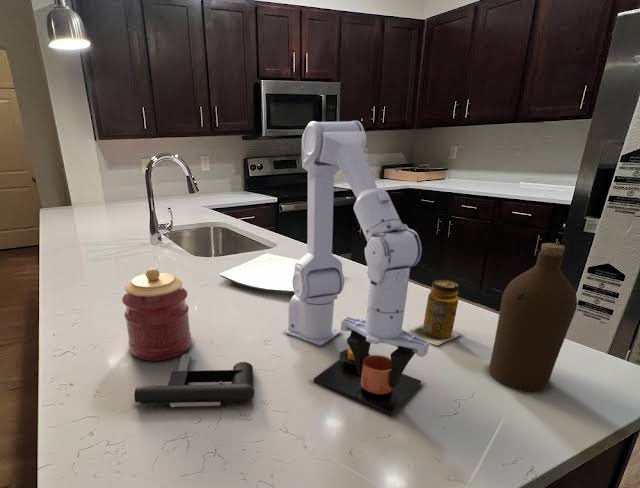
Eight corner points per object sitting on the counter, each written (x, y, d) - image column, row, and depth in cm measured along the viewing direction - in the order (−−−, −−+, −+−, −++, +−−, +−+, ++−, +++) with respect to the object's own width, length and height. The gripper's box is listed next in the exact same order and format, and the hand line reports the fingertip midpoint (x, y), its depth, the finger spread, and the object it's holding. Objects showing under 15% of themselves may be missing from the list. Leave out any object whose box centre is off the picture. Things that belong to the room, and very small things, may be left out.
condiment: (460, 335, 92) (470, 284, 88) (436, 346, 88) (446, 293, 83) (431, 323, 98) (439, 275, 93) (407, 333, 94) (415, 283, 89)
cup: (355, 386, 72) (357, 363, 71) (369, 373, 76) (372, 351, 74) (384, 398, 69) (387, 375, 67) (398, 384, 73) (401, 361, 71)
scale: (313, 382, 76) (314, 370, 75) (348, 356, 85) (349, 345, 84) (391, 417, 67) (392, 404, 66) (421, 383, 76) (423, 371, 75)
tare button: (344, 358, 80) (344, 351, 79) (352, 352, 82) (352, 345, 81) (358, 363, 78) (359, 356, 78) (366, 357, 80) (366, 350, 80)
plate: (213, 283, 125) (212, 274, 124) (265, 259, 147) (265, 251, 146) (295, 303, 110) (296, 293, 109) (341, 273, 132) (341, 265, 131)
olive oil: (550, 401, 70) (595, 258, 60) (480, 381, 76) (512, 247, 66) (552, 372, 78) (593, 242, 68) (489, 356, 84) (519, 234, 74)
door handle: (152, 351, 83) (131, 395, 68) (253, 349, 83) (254, 393, 68) (154, 366, 84) (133, 413, 69) (253, 364, 84) (254, 410, 69)
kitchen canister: (156, 328, 98) (147, 255, 91) (203, 339, 92) (197, 263, 85) (116, 354, 87) (103, 273, 80) (167, 368, 82) (157, 283, 75)
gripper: (333, 302, 68) (328, 372, 74) (420, 327, 60) (408, 405, 65) (355, 290, 73) (349, 357, 79) (439, 311, 64) (426, 386, 70)
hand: (377, 378), depth 72 cm, fingers closed on cup, 5 cm apart
